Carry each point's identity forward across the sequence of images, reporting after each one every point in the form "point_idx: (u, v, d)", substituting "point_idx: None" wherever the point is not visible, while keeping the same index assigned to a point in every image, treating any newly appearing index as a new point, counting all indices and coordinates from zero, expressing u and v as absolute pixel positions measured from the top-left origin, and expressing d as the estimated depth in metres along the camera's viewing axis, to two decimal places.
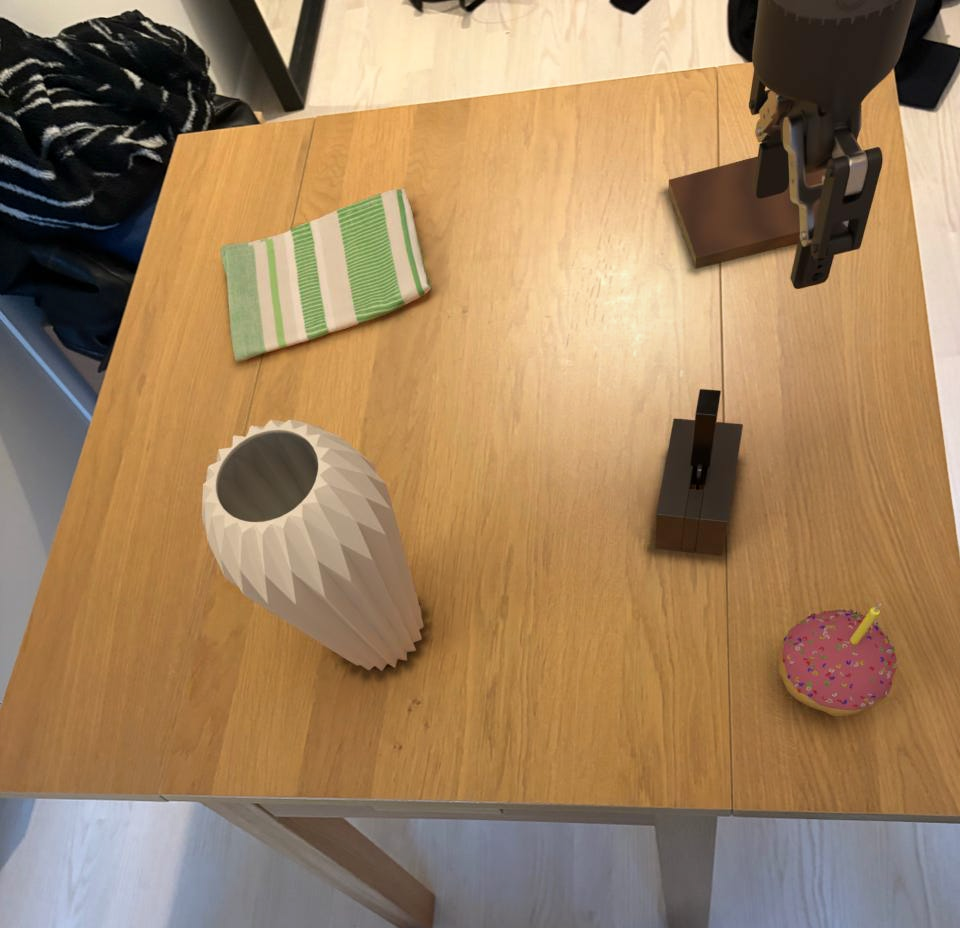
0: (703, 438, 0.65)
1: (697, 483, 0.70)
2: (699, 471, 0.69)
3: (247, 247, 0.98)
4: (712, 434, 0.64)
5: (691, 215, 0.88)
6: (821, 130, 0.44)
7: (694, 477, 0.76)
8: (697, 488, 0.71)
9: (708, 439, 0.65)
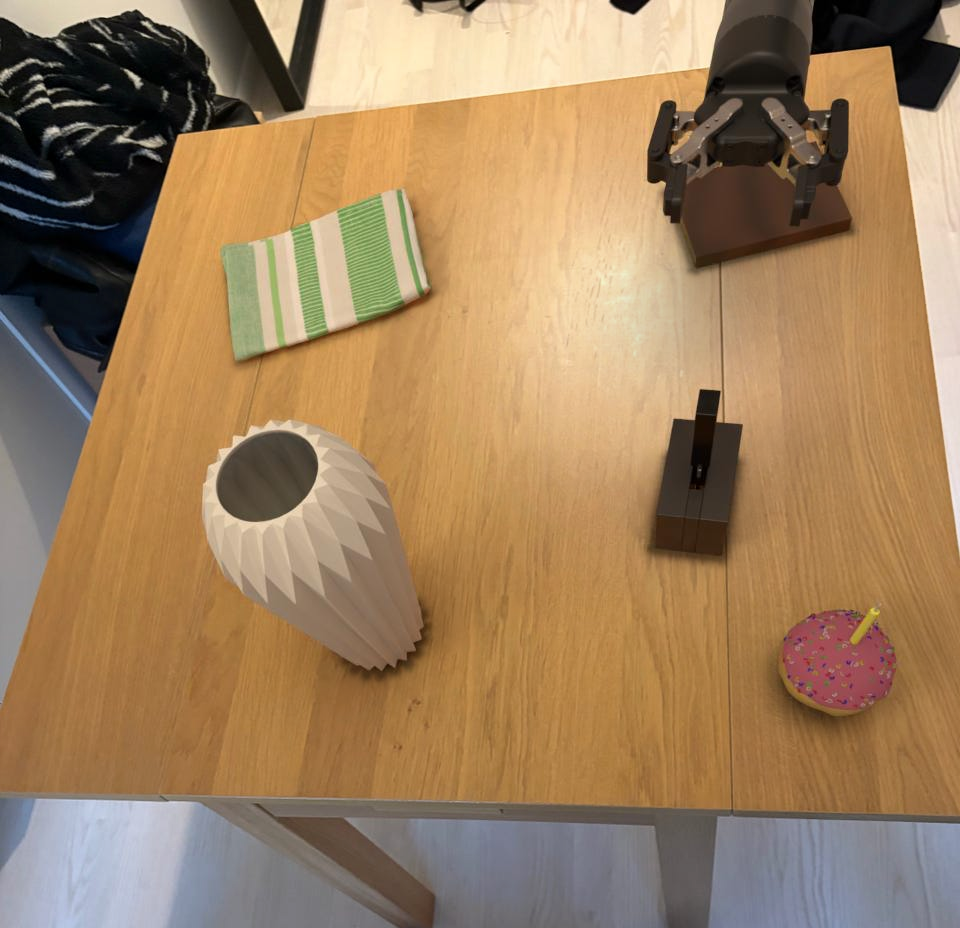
0: (703, 438, 0.65)
1: (697, 483, 0.70)
2: (699, 471, 0.69)
3: (247, 247, 0.98)
4: (712, 434, 0.64)
5: (691, 215, 0.88)
6: None
7: (694, 477, 0.76)
8: (697, 488, 0.71)
9: (708, 439, 0.65)
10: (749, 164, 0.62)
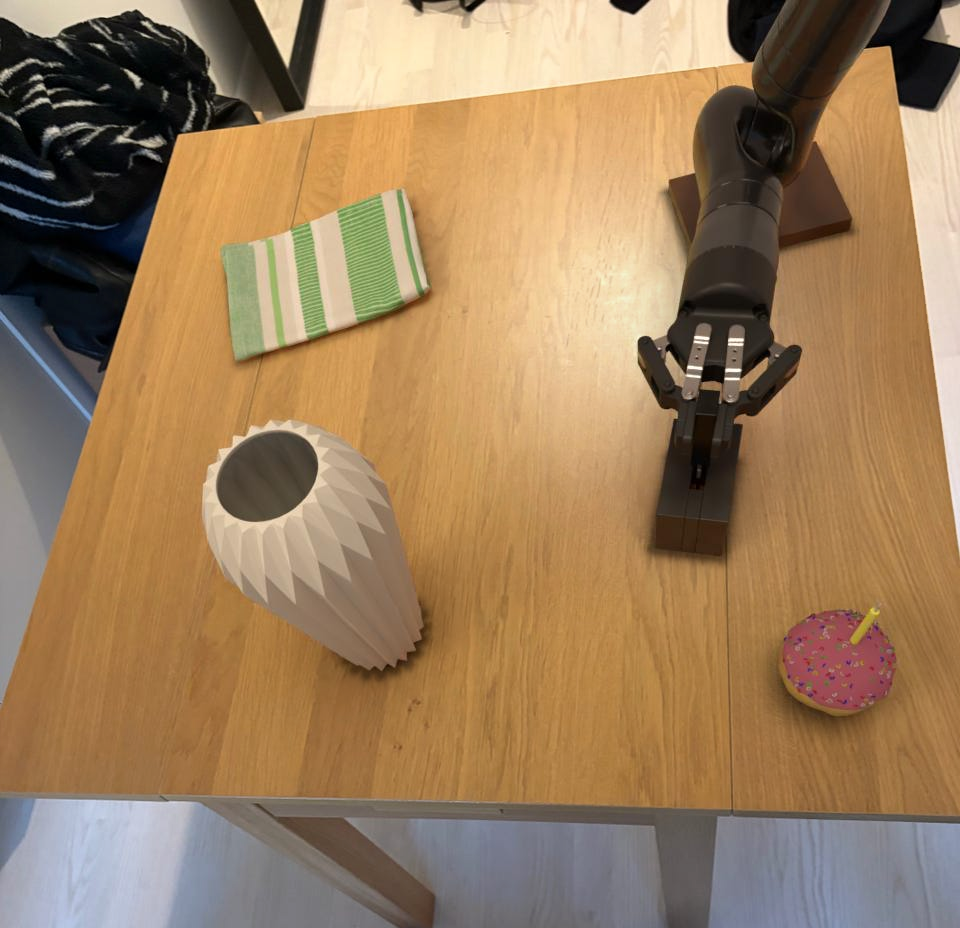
0: (703, 438, 0.65)
1: (697, 483, 0.70)
2: (699, 471, 0.69)
3: (247, 247, 0.98)
4: (712, 434, 0.64)
5: (691, 215, 0.88)
6: None
7: (694, 477, 0.76)
8: (697, 488, 0.71)
9: (708, 439, 0.65)
10: (718, 381, 0.67)
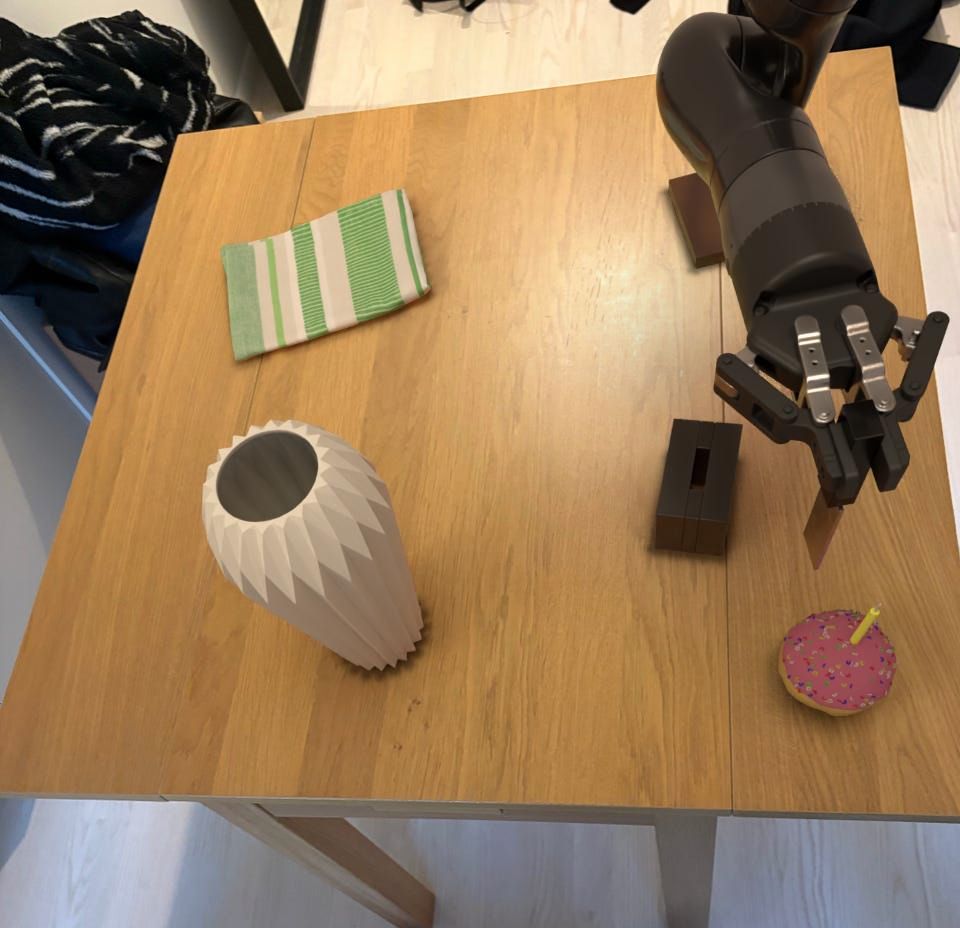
0: (857, 468, 0.46)
1: (834, 527, 0.51)
2: (841, 512, 0.49)
3: (247, 247, 0.98)
4: (871, 460, 0.45)
5: (691, 215, 0.88)
6: None
7: (694, 477, 0.76)
8: (832, 533, 0.52)
9: (863, 468, 0.46)
10: (839, 387, 0.48)
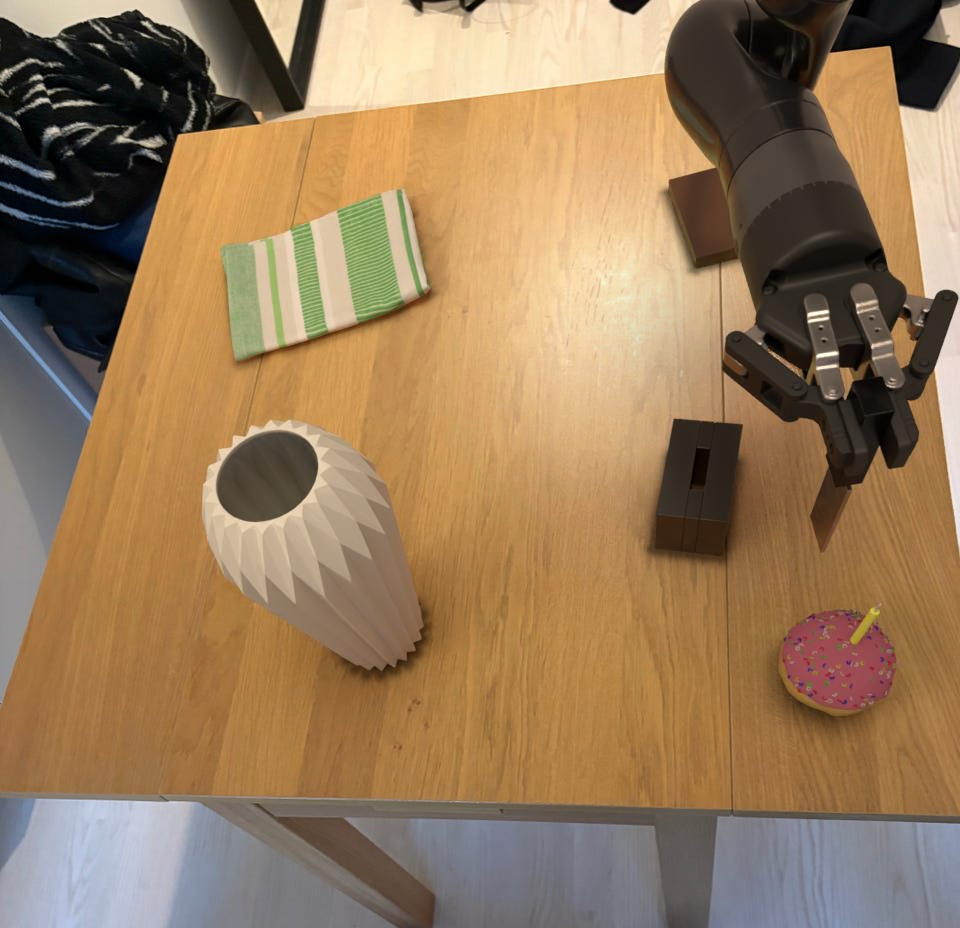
0: None
1: (842, 507, 0.51)
2: (849, 492, 0.49)
3: (247, 247, 0.98)
4: (881, 438, 0.45)
5: (691, 215, 0.88)
6: None
7: (694, 477, 0.76)
8: (840, 514, 0.52)
9: (873, 446, 0.46)
10: (848, 366, 0.48)
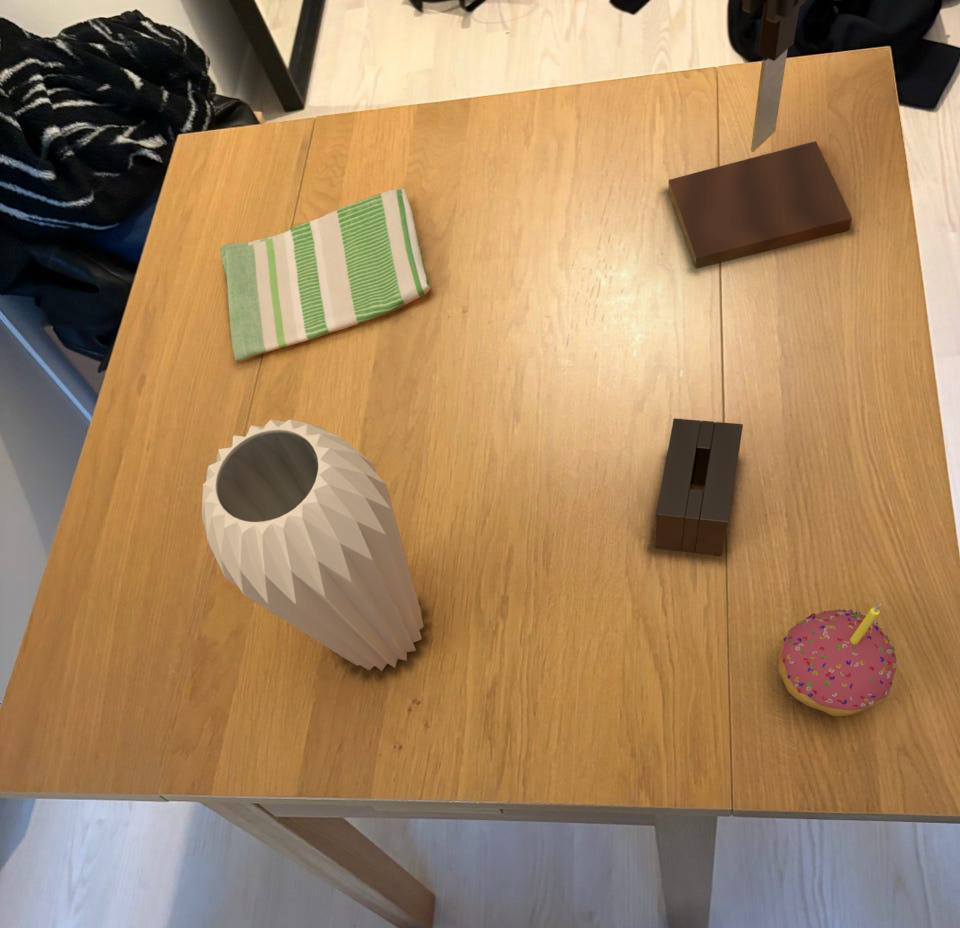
0: None
1: (760, 85, 0.67)
2: (763, 63, 0.65)
3: (247, 247, 0.98)
4: None
5: (691, 215, 0.88)
6: None
7: (694, 477, 0.76)
8: (759, 95, 0.68)
9: None
10: None
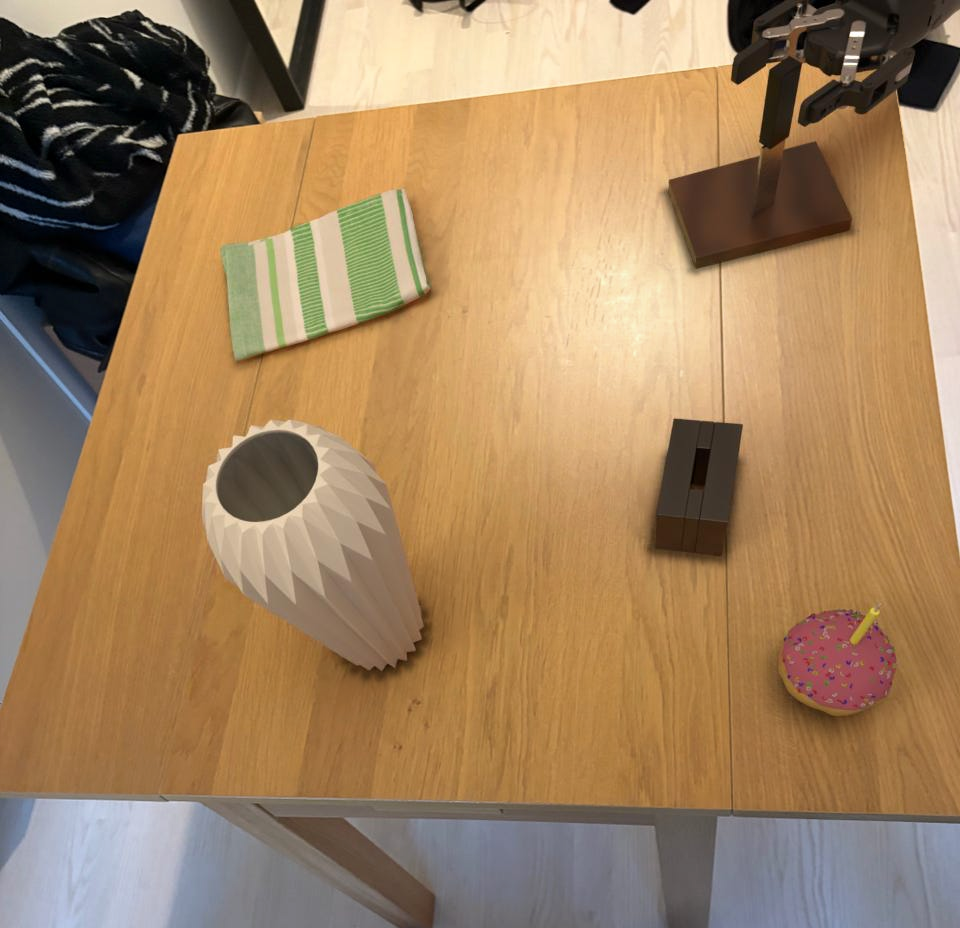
0: (770, 105, 0.75)
1: (758, 166, 0.81)
2: (761, 150, 0.79)
3: (247, 247, 0.98)
4: (776, 102, 0.74)
5: (691, 215, 0.88)
6: None
7: (694, 477, 0.76)
8: (758, 174, 0.81)
9: (773, 108, 0.75)
10: (821, 69, 0.75)
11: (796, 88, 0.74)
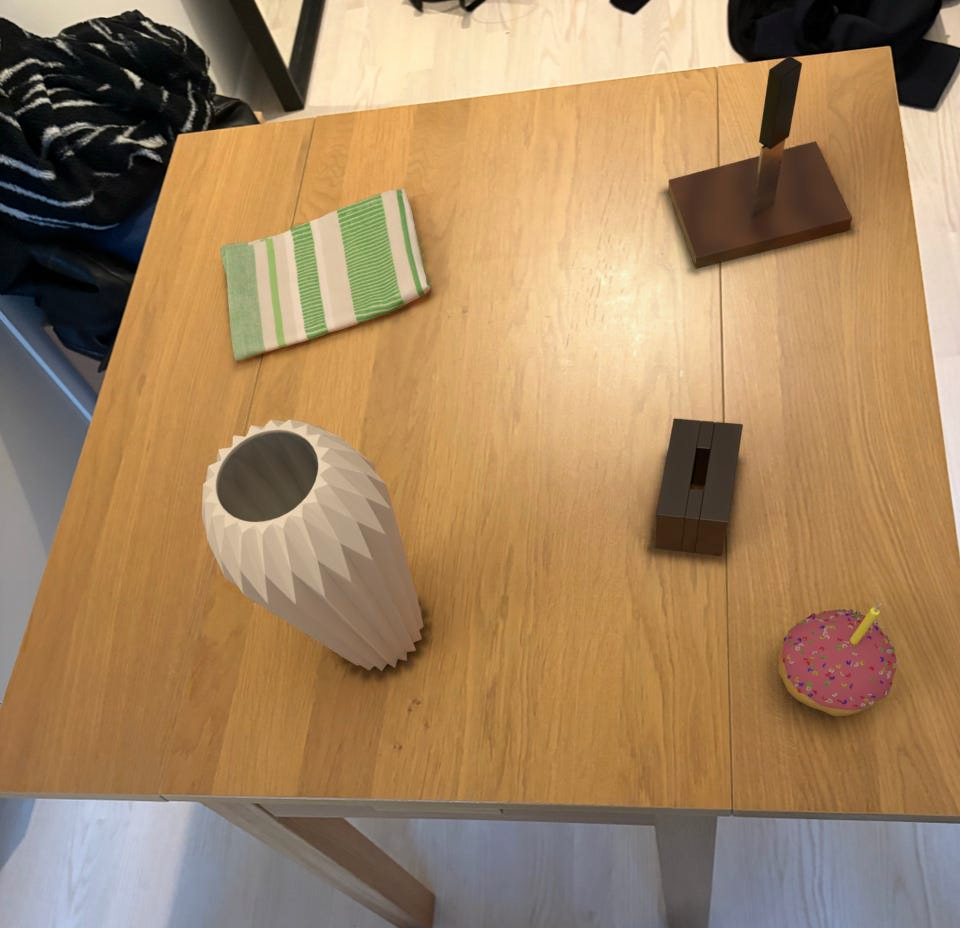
0: (770, 105, 0.75)
1: (758, 166, 0.81)
2: (761, 150, 0.79)
3: (247, 247, 0.98)
4: (776, 102, 0.74)
5: (691, 215, 0.88)
6: None
7: (694, 477, 0.76)
8: (758, 174, 0.81)
9: (773, 108, 0.75)
10: None
11: (796, 88, 0.74)
